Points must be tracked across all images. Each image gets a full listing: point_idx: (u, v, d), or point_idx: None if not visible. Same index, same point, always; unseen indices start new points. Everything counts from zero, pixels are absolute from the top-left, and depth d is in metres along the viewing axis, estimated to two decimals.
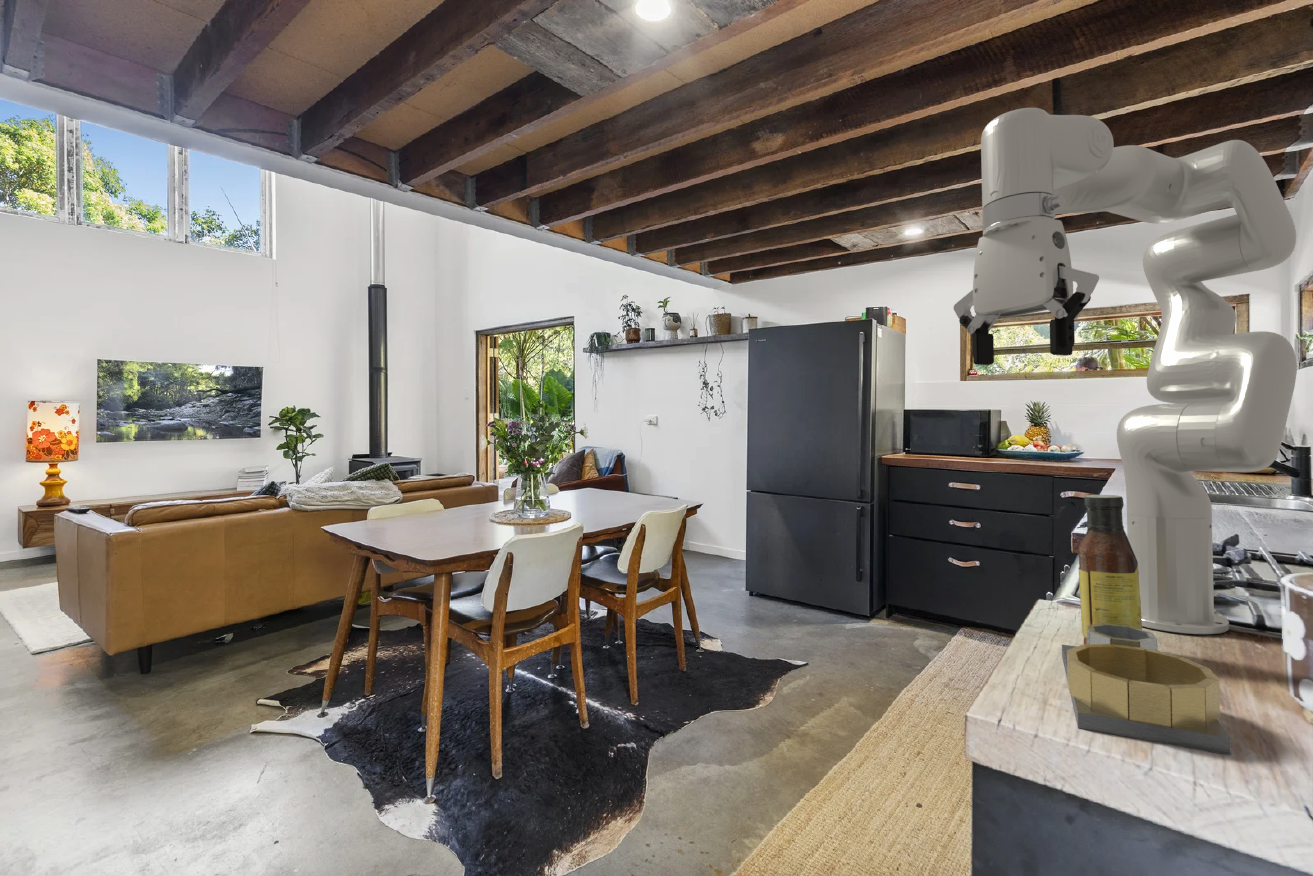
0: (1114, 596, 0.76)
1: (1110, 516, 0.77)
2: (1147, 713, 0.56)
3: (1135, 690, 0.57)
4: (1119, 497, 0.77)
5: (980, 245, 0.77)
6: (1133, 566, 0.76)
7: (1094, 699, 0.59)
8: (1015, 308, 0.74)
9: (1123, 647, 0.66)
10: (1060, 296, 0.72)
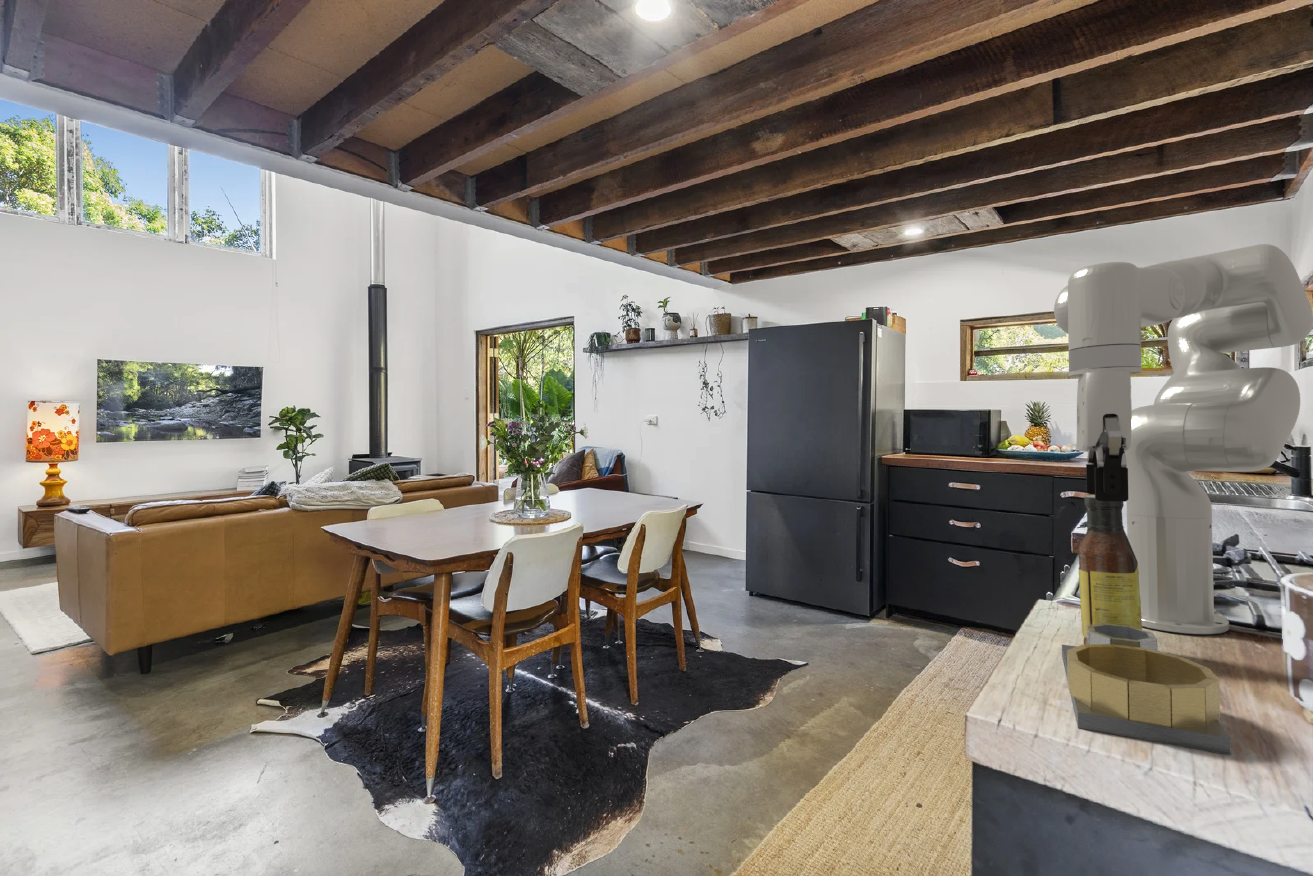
0: (1114, 596, 0.76)
1: (1110, 516, 0.77)
2: (1147, 713, 0.56)
3: (1135, 690, 0.57)
4: None
5: (1129, 379, 0.74)
6: (1133, 566, 0.76)
7: (1094, 699, 0.59)
8: None
9: (1123, 647, 0.66)
10: None
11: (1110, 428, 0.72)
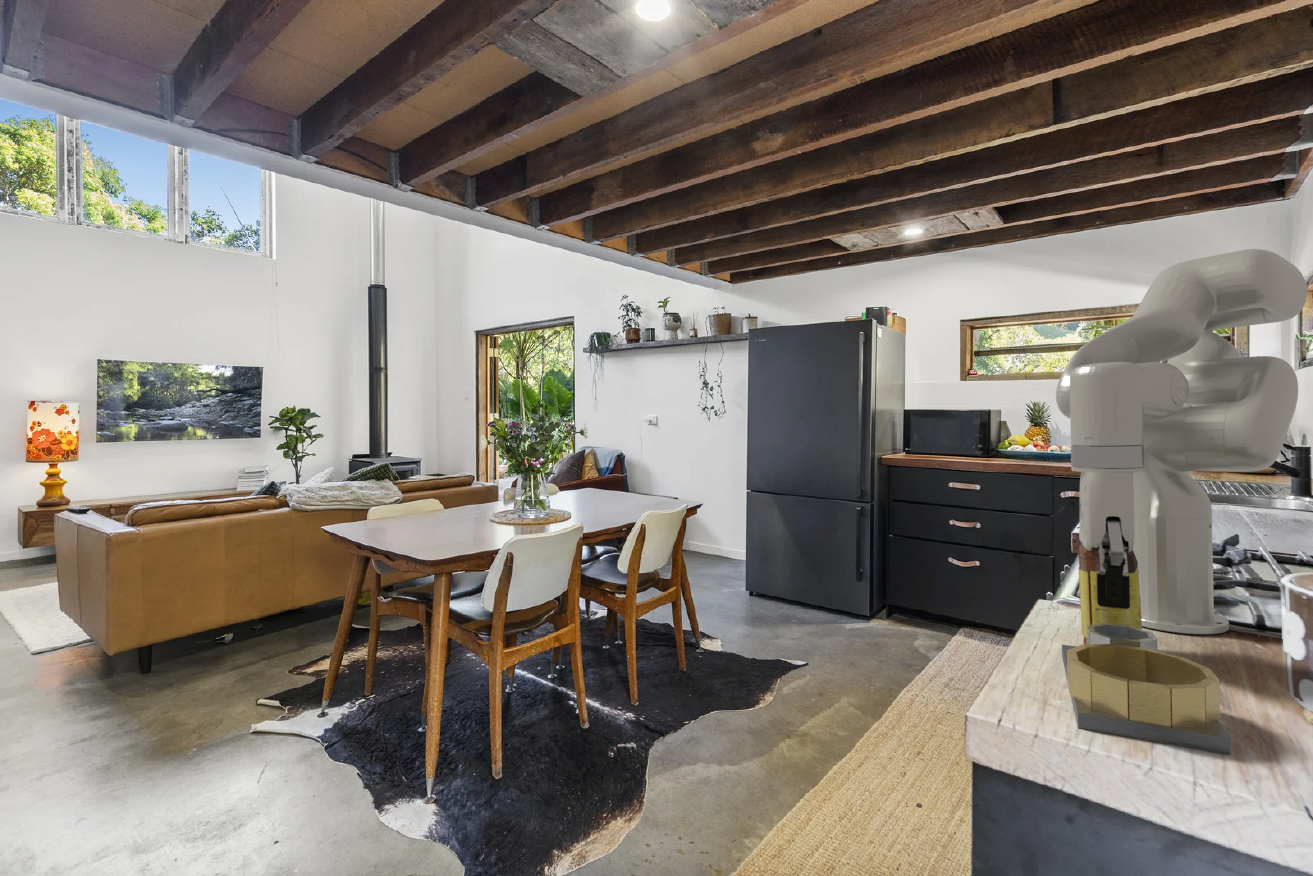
0: None
1: None
2: (1147, 713, 0.56)
3: (1135, 690, 0.57)
4: None
5: (1132, 481, 0.74)
6: (1133, 566, 0.76)
7: (1094, 699, 0.59)
8: None
9: (1123, 647, 0.66)
10: None
11: (1113, 543, 0.72)
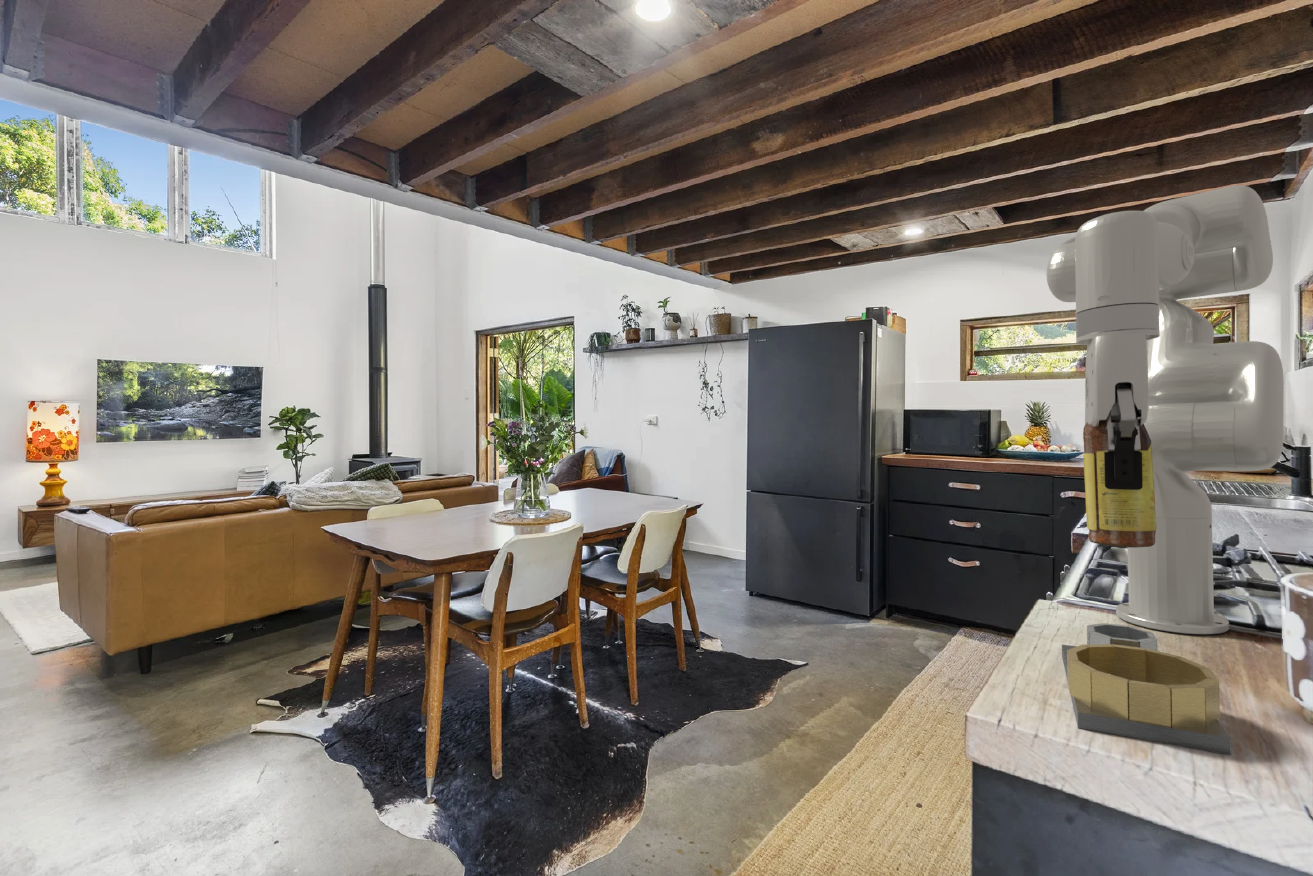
0: None
1: None
2: (1147, 713, 0.56)
3: (1135, 690, 0.57)
4: None
5: (1146, 342, 0.65)
6: (1146, 443, 0.66)
7: (1094, 699, 0.59)
8: None
9: (1123, 647, 0.66)
10: None
11: (1123, 409, 0.63)
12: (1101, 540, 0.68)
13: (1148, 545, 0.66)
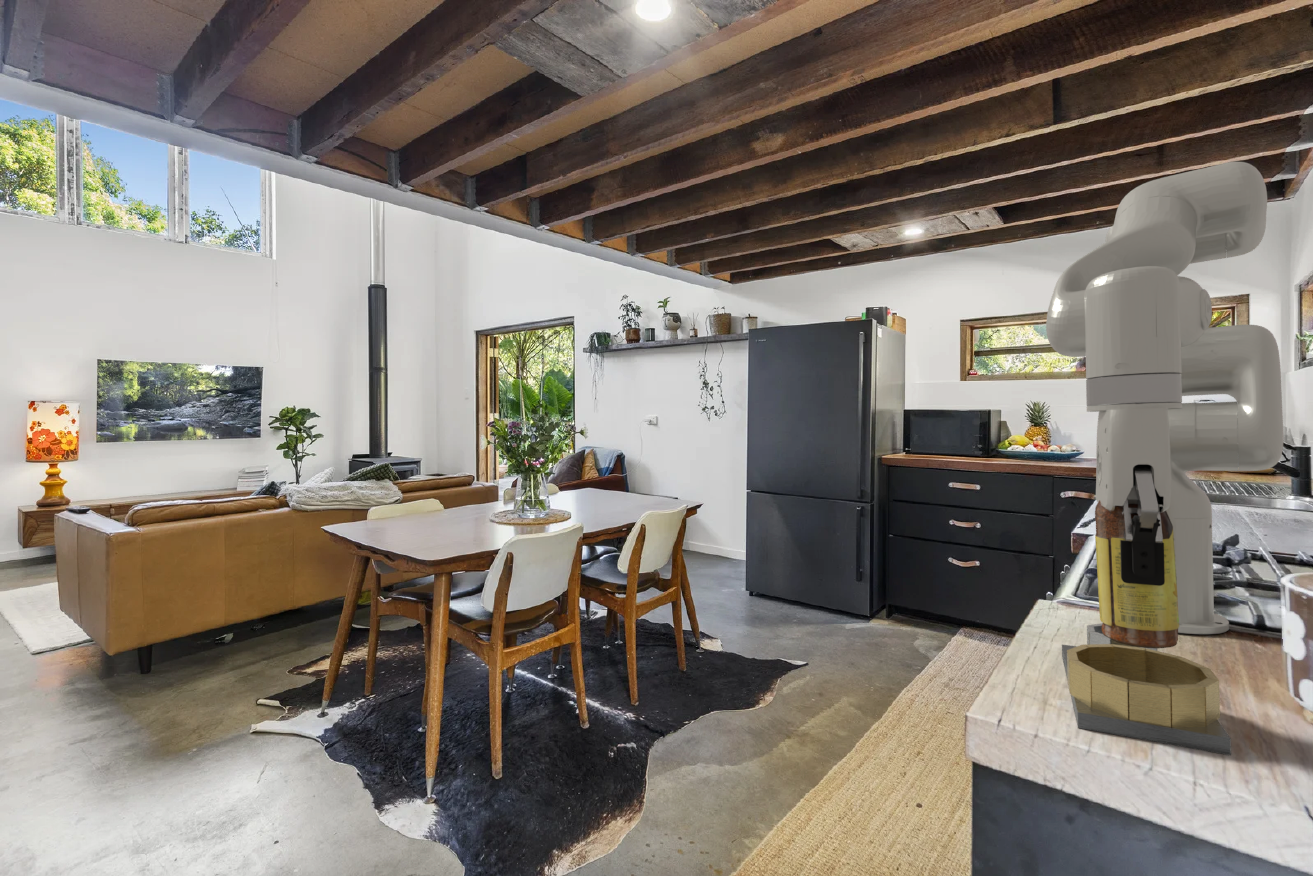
0: None
1: None
2: (1147, 713, 0.56)
3: (1135, 690, 0.57)
4: None
5: (1167, 418, 0.57)
6: (1167, 530, 0.59)
7: (1094, 699, 0.59)
8: None
9: (1123, 647, 0.66)
10: None
11: (1143, 498, 0.55)
12: (1117, 638, 0.60)
13: (1170, 646, 0.58)
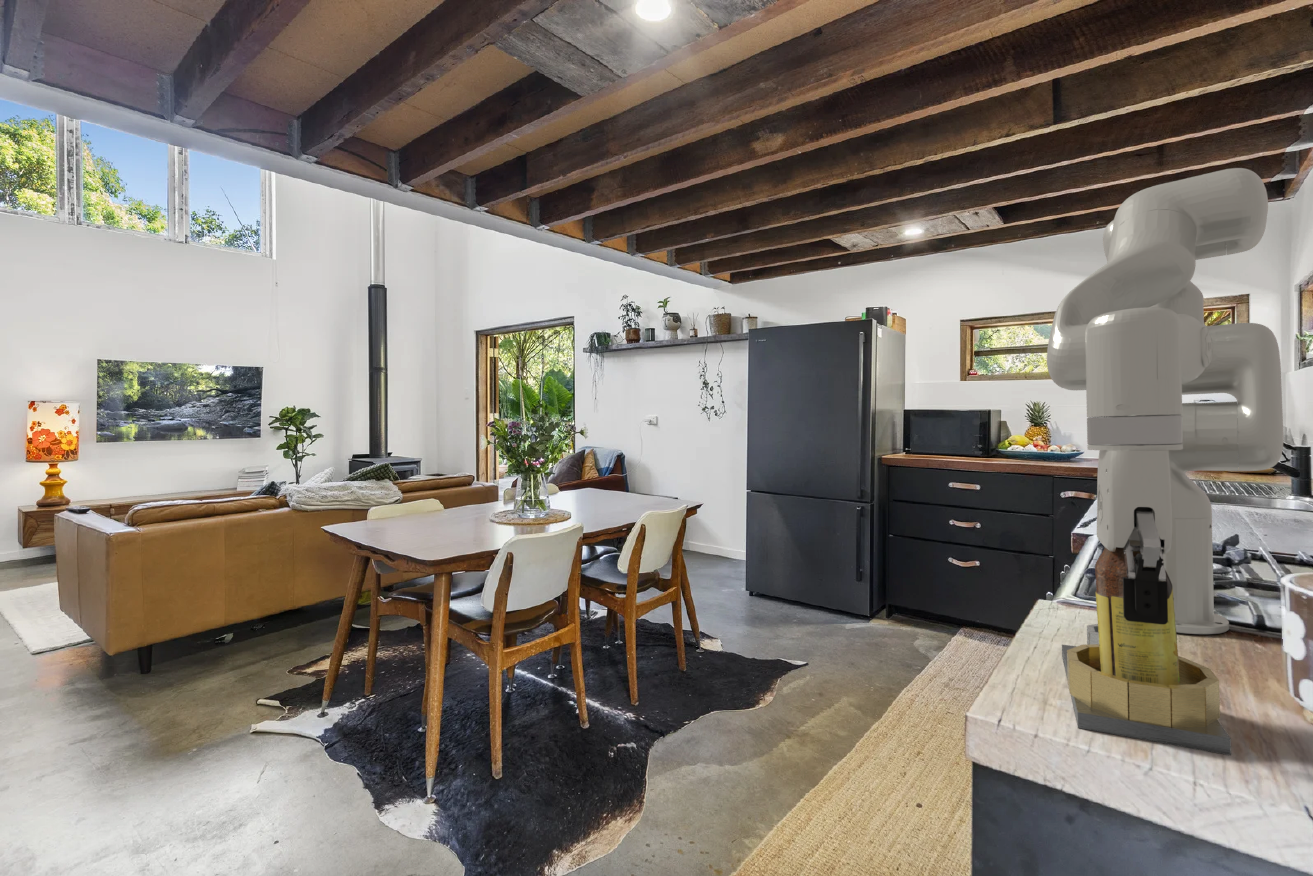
0: (1143, 629, 0.59)
1: None
2: (1147, 713, 0.56)
3: (1135, 690, 0.57)
4: None
5: (1168, 461, 0.57)
6: (1167, 590, 0.59)
7: (1094, 699, 0.59)
8: None
9: None
10: None
11: (1145, 534, 0.55)
12: None
13: None
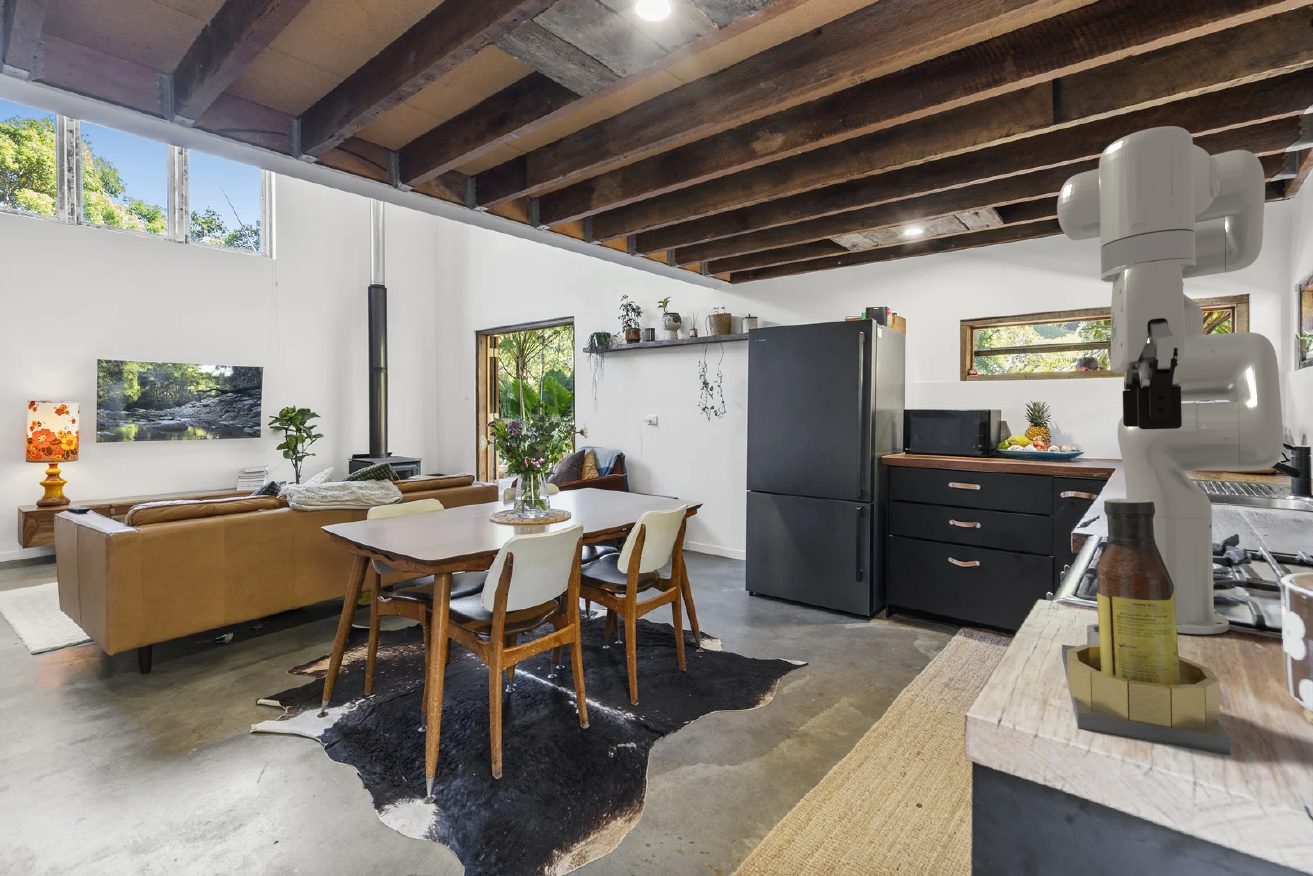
0: (1144, 629, 0.59)
1: (1138, 526, 0.60)
2: (1147, 713, 0.56)
3: (1135, 690, 0.57)
4: (1150, 502, 0.60)
5: (1181, 273, 0.59)
6: (1168, 590, 0.59)
7: (1094, 699, 0.59)
8: None
9: None
10: None
11: (1159, 334, 0.56)
12: None
13: None
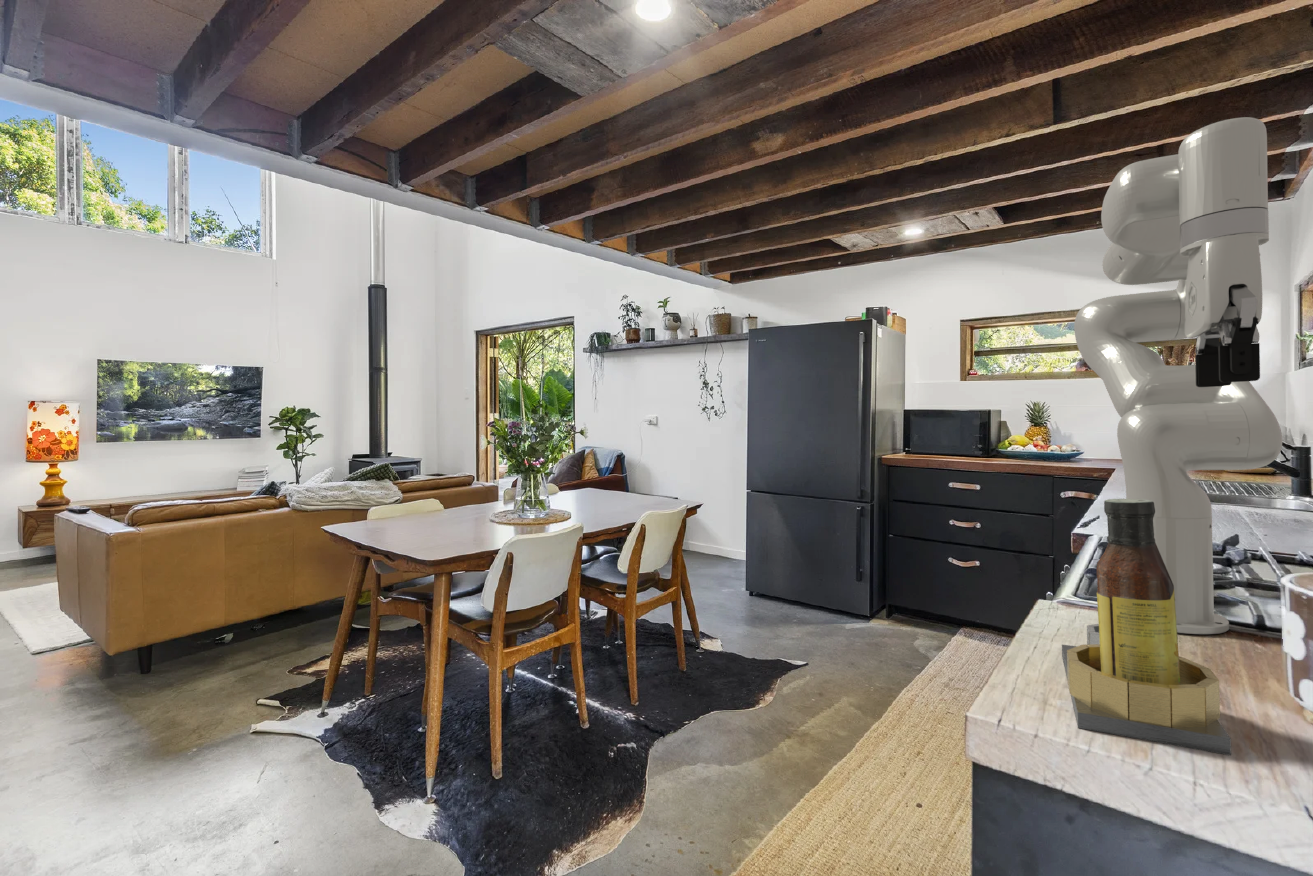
0: (1144, 629, 0.59)
1: (1138, 526, 0.60)
2: (1147, 713, 0.56)
3: (1135, 690, 0.57)
4: (1150, 502, 0.60)
5: (1258, 245, 0.67)
6: (1168, 590, 0.59)
7: (1094, 699, 0.59)
8: None
9: None
10: None
11: (1242, 296, 0.64)
12: None
13: None
